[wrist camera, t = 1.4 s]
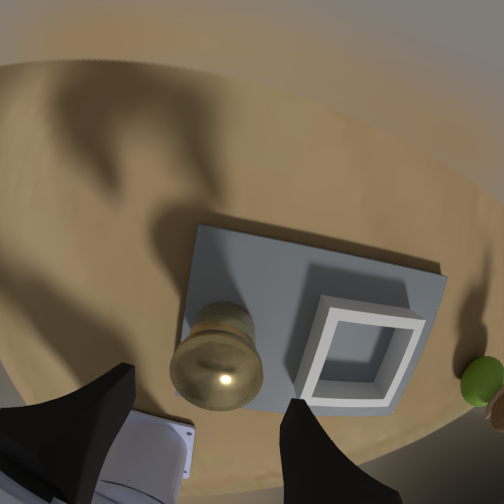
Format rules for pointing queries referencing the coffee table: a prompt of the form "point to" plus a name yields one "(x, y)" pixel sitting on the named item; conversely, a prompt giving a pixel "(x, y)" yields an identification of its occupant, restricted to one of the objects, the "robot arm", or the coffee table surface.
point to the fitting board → (318, 319)
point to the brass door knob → (218, 359)
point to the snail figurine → (486, 388)
